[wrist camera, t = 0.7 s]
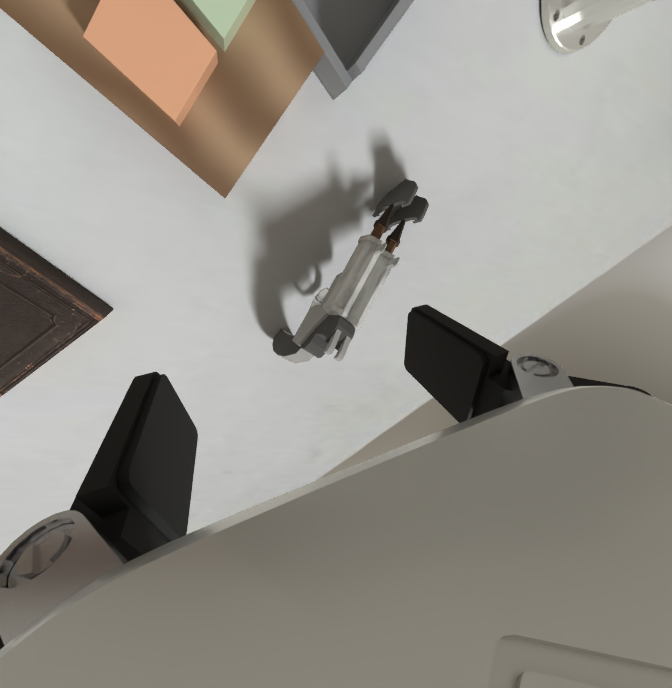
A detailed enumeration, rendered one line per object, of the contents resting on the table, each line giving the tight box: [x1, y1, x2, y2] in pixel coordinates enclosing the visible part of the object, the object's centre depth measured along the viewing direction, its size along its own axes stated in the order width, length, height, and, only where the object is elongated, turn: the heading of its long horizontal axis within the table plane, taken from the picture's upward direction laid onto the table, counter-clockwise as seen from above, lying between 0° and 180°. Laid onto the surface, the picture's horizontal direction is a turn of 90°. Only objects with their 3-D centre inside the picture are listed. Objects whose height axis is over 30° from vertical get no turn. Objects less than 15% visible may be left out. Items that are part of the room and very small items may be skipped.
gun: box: [272, 179, 429, 363], centre depth 35 cm, size 5×27×15 cm, turn 137°
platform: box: [0, 0, 325, 198], centre depth 20 cm, size 15×16×5 cm
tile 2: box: [83, 0, 218, 127], centre depth 18 cm, size 6×6×2 cm
